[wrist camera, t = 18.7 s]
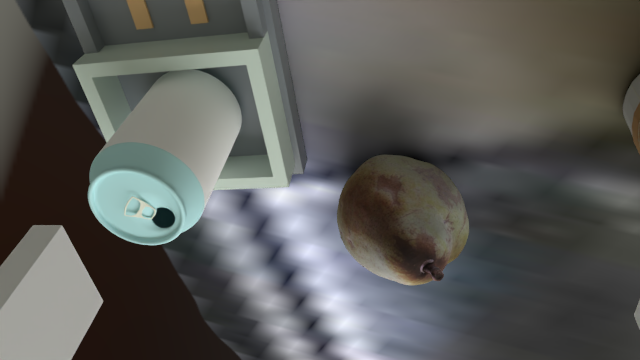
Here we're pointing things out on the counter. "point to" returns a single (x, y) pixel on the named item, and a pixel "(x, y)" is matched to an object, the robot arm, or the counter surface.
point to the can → (165, 158)
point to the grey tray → (199, 54)
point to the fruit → (402, 219)
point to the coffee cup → (633, 110)
